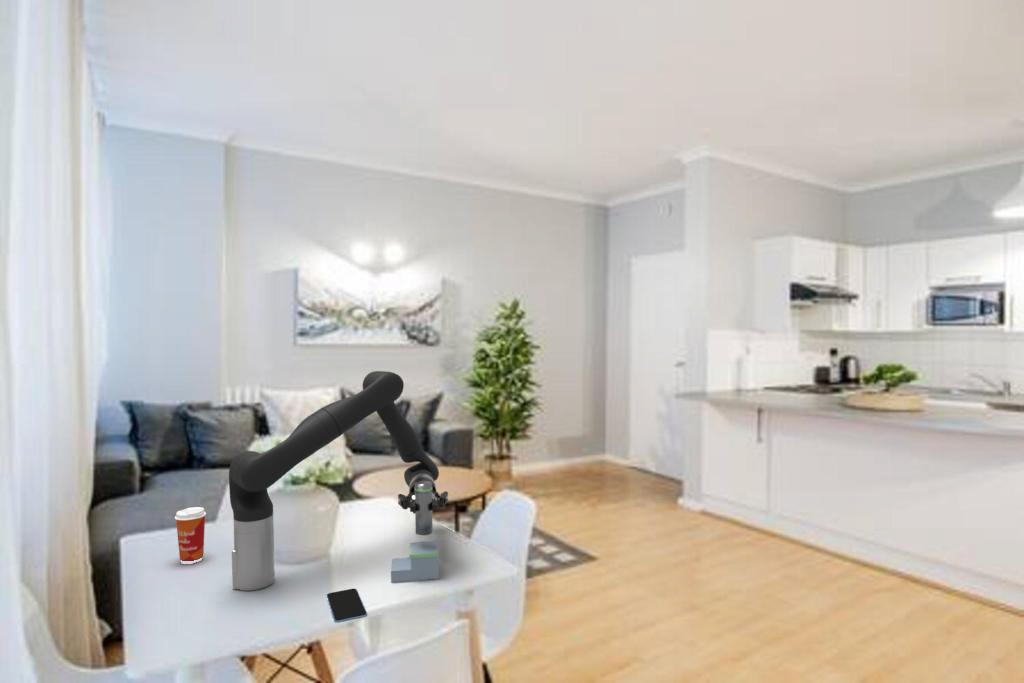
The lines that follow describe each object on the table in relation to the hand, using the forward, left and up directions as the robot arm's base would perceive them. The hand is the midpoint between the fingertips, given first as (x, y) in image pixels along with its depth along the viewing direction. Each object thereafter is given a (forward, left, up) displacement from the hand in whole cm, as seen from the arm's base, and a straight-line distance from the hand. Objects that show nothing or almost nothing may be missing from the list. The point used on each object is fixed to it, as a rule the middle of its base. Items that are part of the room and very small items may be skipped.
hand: (424, 509), depth 153 cm
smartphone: (-19, -11, -18) cm, 29 cm away
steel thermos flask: (0, +3, -7) cm, 8 cm away
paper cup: (-64, +23, -18) cm, 70 cm away
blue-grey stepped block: (-3, +2, -18) cm, 18 cm away
